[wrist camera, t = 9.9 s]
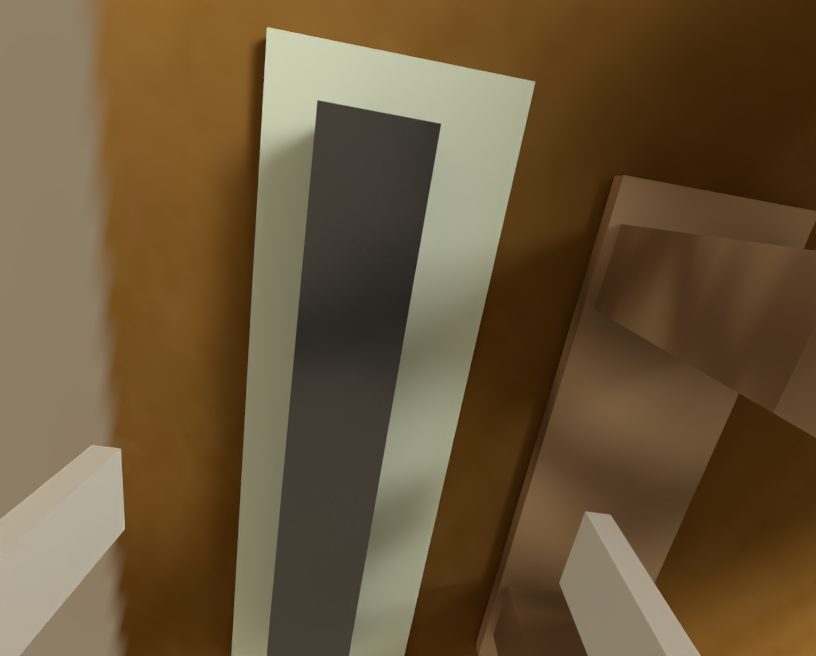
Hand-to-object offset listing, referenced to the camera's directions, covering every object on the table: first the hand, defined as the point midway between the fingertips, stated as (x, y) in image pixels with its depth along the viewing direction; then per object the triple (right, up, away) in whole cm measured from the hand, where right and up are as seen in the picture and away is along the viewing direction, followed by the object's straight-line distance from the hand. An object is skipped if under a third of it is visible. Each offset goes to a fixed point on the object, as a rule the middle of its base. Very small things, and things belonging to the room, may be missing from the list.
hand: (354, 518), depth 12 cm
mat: (-1, +1, +5) cm, 5 cm away
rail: (-1, +1, +4) cm, 5 cm away
